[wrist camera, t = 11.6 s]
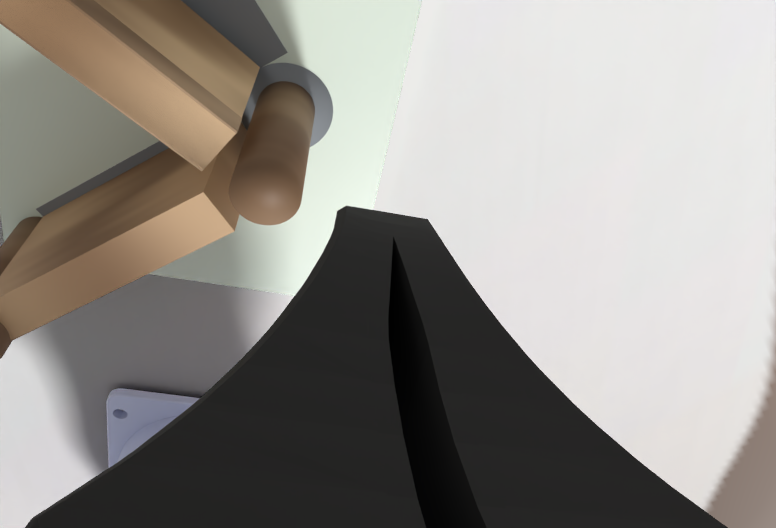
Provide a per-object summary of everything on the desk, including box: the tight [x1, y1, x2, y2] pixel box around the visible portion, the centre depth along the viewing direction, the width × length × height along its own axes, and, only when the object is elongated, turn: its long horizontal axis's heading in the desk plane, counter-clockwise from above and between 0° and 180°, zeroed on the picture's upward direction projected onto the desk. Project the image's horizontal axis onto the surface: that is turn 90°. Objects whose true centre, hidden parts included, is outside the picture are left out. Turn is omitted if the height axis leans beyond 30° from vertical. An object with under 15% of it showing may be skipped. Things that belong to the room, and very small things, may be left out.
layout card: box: [0, 0, 422, 296], centre depth 18 cm, size 16×11×1 cm
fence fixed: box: [0, 81, 315, 359], centre depth 18 cm, size 2×10×5 cm, turn 118°
